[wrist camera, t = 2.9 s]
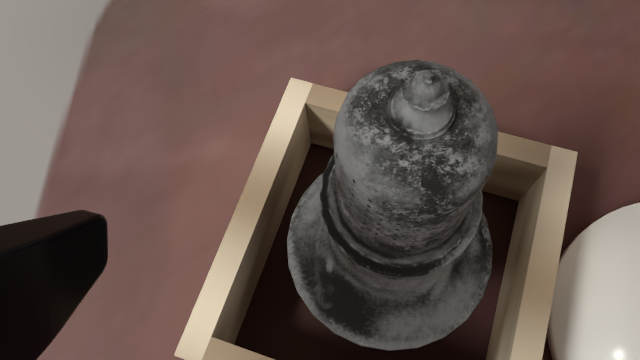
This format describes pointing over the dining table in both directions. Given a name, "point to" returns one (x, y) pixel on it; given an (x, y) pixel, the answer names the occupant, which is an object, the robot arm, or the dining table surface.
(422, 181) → the grey tall domed piece
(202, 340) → the birch holder
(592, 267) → the coaster
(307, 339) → the dining table surface
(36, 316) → the robot arm
